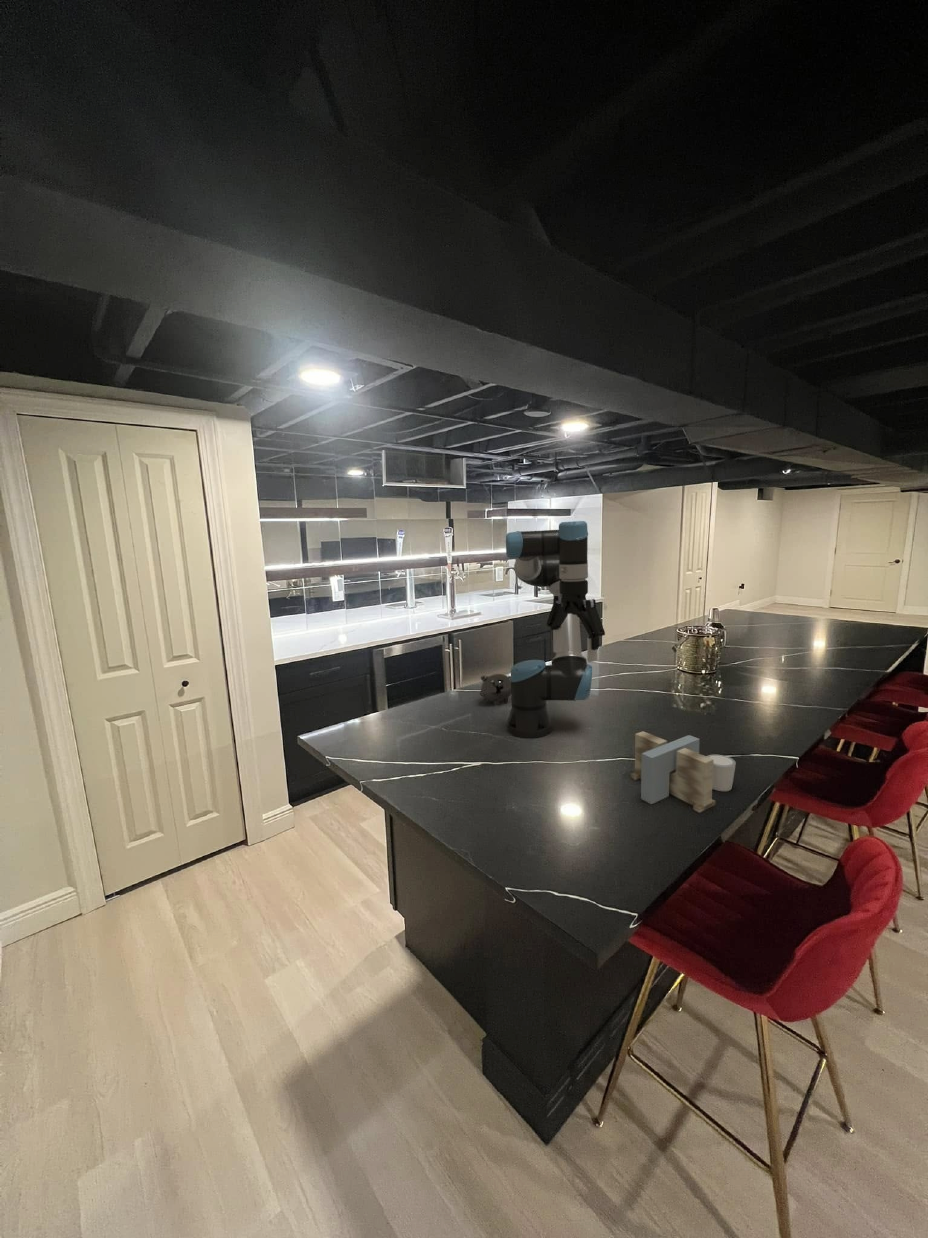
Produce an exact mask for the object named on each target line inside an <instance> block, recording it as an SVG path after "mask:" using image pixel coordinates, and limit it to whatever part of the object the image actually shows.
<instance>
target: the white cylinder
mask: <svg viewBox="0 0 928 1238" xmlns="http://www.w3.org/2000/svg"><path fill="white" fill-rule="evenodd" d="M706 757H709V758H711V759H714V760H713V783H712V790H715V791H719V792H729V791H731V790H732V789H733V788H732V787H733V783H734V777H735V770H736V763H737V762H736V761H735V760H734V759H733V758H732V757H730V756H727V755H723V754H715V753H714V754H709V755H706Z"/></svg>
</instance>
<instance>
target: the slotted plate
mask: <svg viewBox="0 0 928 1238" xmlns="http://www.w3.org/2000/svg"><path fill="white" fill-rule="evenodd" d="M700 740H701V739H700V738H698V737H695V736H693V735H690V734H689V735H688V734H687V735H685V736H683V737H680V738H678V739H675V740H673V741H670V742H667V744H665V745H662V746H660V747H657V748H654V749H652V750H649V751H647V752H644V753H642V768H641V779H640V783H641V784H640V800H642V801H644V802H646V803H648V804H650V805H652V804H655V803H657V802H659V801H662V800H663V799H665V798H668V797H670V794H669V772H671V771H673V770H676V759H677V751H678V750H681V749H683V748H686V749H689V750H691V751H694V752H696V753H699V754H700Z"/></svg>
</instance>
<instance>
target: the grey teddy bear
mask: <svg viewBox="0 0 928 1238" xmlns="http://www.w3.org/2000/svg"><path fill="white" fill-rule="evenodd" d="M510 678H511V675H508V676H507V674H503V673H494V674H490V675H482V676H480V680H481V681H482V684H481V685H480V686H481V687H480V691H479V696H480V697H481V698H484V700H486V703H488V702H490V703H493V705H494V706H495V705H498V706H499V704H500V702H503V703H504V704H508V703H509V697H511V681H510ZM507 702H508V703H507Z"/></svg>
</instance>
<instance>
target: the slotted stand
mask: <svg viewBox="0 0 928 1238" xmlns="http://www.w3.org/2000/svg"><path fill="white" fill-rule="evenodd" d="M634 736H635V737H634V738H635V739H634V772H633V773H631V774H630V778H631V779H633V780H635V781H636V780H639V779H640V780H641V768H642V753H644V752H647V751H649V750H652V749H654V748H657V747H660V746H662V745H665V744H667V743H668V741H667V740H666V739H664V738H661V737H658V736H656V735H654V734H652V733H648V732H646V731H644V730H642V731H640V732H637V733H635V734H634ZM706 756H707V755H706ZM706 756H705V755H703V754H701V753H700V752H699V753H696V752H694V751H691V750H689V749H686V748H683V749H681V750H678V751H677V759H676V770H673V771H671V772H669V795H672V796H673V797H676V798H677V799H679V800H682V801H683V802H685V803H687V804H690V805H692V806H693V807H692V810H693V811H695V812H697V813H699V814H700V813H702V812H704V811H706V810H708V809H710V808H711V807H714V806H715V805H716V800H715V799H712V798H713V789H712V783H713V760H714V759H711V758H709V757H706Z"/></svg>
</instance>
